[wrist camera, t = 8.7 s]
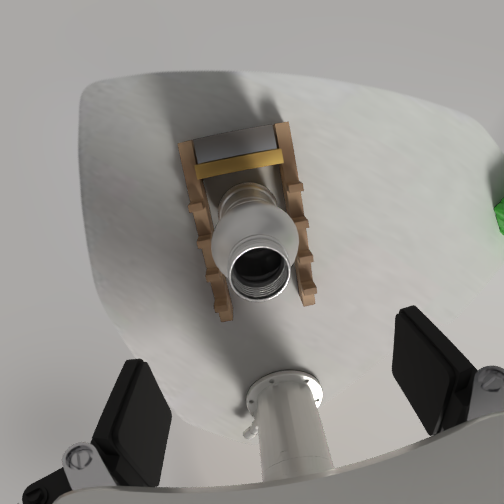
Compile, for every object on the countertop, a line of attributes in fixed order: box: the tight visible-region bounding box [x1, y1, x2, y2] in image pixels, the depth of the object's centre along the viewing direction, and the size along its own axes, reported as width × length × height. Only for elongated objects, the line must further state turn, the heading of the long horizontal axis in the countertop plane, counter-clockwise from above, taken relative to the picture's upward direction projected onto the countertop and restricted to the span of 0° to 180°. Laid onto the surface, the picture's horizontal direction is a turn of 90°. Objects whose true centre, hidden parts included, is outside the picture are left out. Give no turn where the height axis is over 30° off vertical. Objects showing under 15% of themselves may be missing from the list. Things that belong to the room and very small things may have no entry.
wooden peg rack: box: [178, 122, 317, 322], centre depth 33 cm, size 22×12×9 cm, turn 10°
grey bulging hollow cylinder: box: [211, 182, 299, 302], centre depth 27 cm, size 6×7×20 cm
